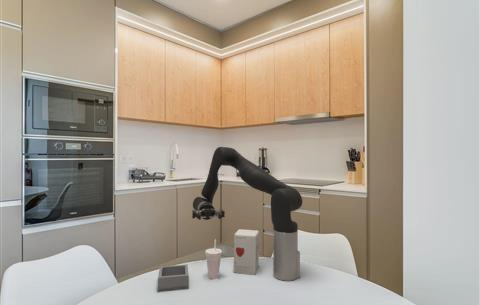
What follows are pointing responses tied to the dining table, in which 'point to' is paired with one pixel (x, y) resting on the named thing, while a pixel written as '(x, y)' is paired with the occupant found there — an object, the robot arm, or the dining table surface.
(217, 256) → the smoothie
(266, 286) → the dining table surface
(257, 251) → the supplement box
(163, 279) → the box
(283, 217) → the robot arm
